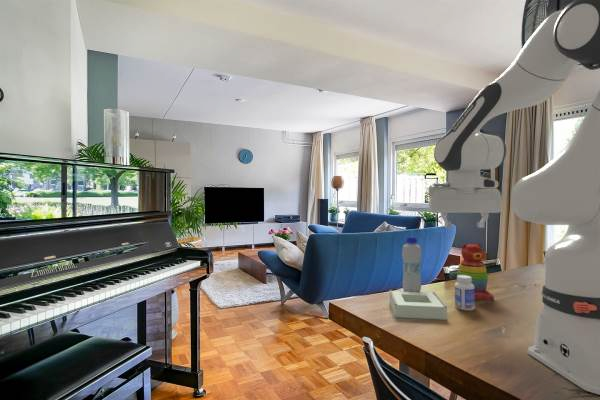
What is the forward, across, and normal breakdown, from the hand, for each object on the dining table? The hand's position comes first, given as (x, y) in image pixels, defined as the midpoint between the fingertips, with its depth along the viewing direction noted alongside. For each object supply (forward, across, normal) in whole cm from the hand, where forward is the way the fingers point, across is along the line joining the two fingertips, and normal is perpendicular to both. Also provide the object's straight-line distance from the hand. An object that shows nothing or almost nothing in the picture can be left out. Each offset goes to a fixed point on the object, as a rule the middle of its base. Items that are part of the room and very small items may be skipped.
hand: (464, 227), depth 101 cm
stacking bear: (+25, +7, +14) cm, 29 cm away
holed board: (+25, -15, -4) cm, 29 cm away
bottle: (+25, -13, +15) cm, 32 cm away
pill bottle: (+25, 0, 0) cm, 25 cm away
